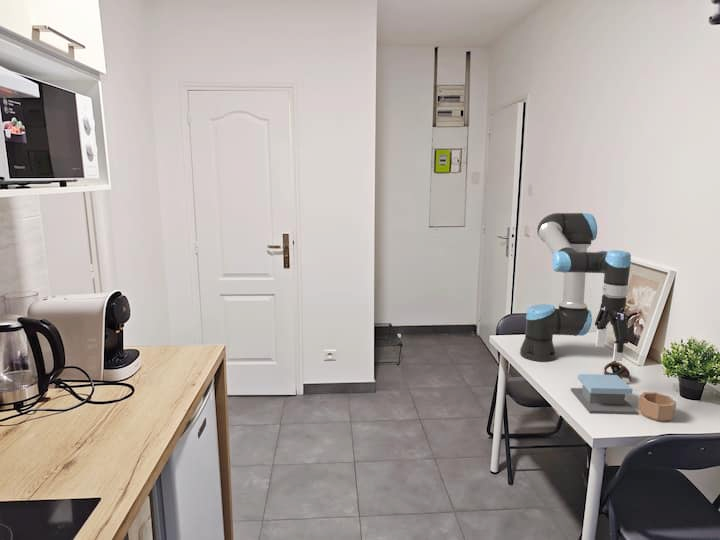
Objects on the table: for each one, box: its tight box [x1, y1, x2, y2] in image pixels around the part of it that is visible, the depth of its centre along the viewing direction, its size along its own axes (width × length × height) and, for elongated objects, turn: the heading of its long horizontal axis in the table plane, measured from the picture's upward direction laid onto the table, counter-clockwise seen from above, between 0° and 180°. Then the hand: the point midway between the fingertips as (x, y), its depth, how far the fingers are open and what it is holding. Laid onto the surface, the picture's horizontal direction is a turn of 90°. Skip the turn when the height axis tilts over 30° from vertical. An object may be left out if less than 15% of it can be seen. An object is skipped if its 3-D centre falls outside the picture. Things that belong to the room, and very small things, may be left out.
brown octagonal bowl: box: [637, 391, 677, 422], centre depth 165 cm, size 10×10×6 cm
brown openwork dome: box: [603, 360, 632, 383], centre depth 195 cm, size 12×10×8 cm
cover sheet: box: [577, 373, 634, 395], centre depth 174 cm, size 12×14×2 cm
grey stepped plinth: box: [570, 384, 639, 415], centre depth 175 cm, size 18×16×6 cm
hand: (608, 353), depth 172 cm, fingers open, 13 cm apart
